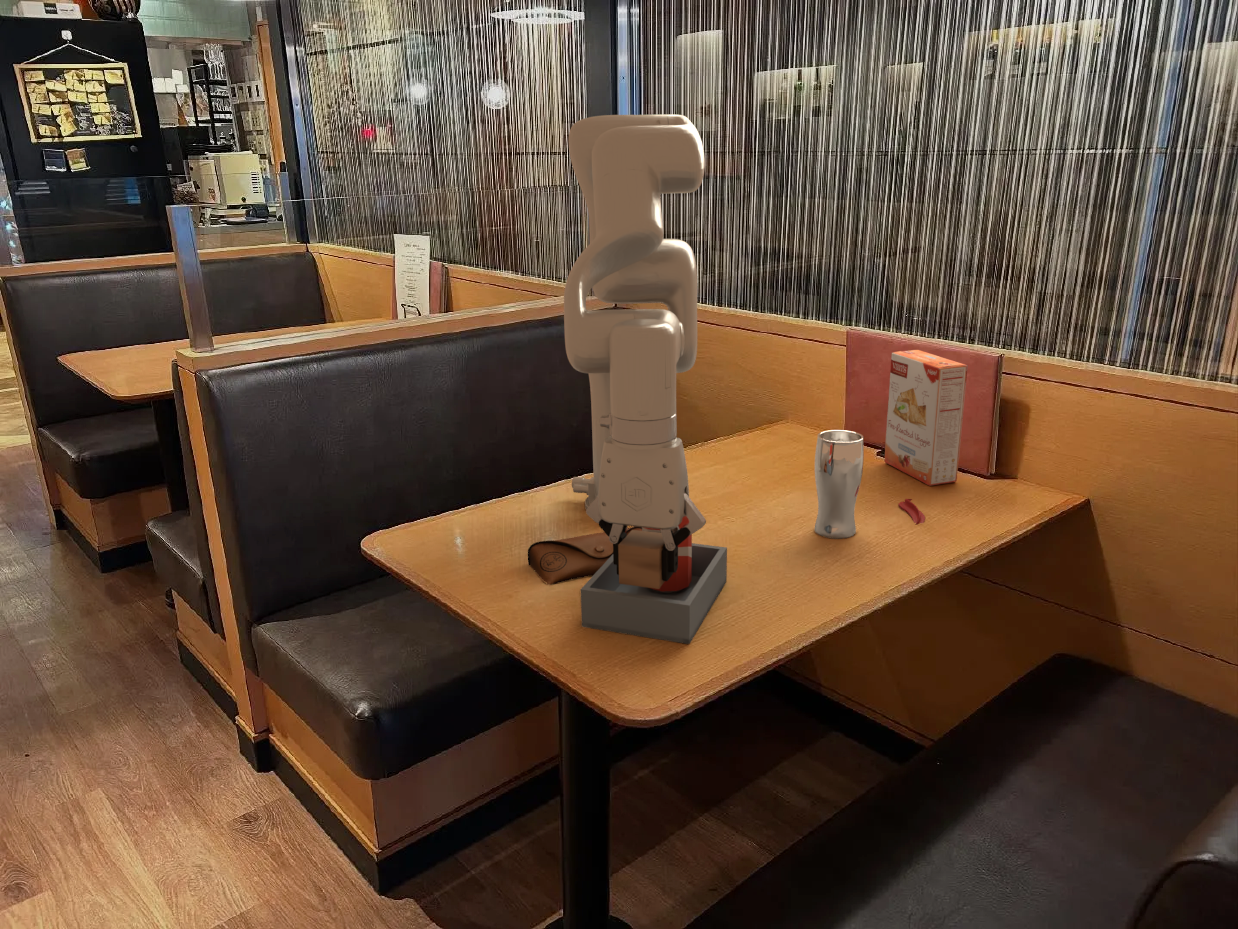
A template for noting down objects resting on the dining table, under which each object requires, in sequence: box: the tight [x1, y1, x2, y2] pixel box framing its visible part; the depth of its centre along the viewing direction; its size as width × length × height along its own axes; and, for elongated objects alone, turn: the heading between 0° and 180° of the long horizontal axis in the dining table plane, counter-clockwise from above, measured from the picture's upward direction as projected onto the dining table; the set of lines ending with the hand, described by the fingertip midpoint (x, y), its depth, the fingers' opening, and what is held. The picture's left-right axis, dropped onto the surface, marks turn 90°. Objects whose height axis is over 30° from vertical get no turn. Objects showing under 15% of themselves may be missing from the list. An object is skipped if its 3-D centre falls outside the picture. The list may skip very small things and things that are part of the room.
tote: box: [579, 542, 728, 645], centre depth 117 cm, size 14×18×5 cm
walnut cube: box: [618, 530, 665, 589], centre depth 111 cm, size 5×5×5 cm
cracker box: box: [883, 349, 968, 487], centre depth 161 cm, size 14×6×21 cm, turn 17°
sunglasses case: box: [527, 526, 642, 586], centre depth 130 cm, size 18×7×7 cm
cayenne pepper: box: [897, 498, 926, 526], centre depth 146 cm, size 12×5×2 cm, turn 158°
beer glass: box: [814, 429, 864, 540], centre depth 137 cm, size 7×7×15 cm
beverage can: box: [642, 516, 693, 593], centre depth 119 cm, size 6×6×12 cm
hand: (645, 572), depth 111 cm, fingers closed on walnut cube, 5 cm apart
